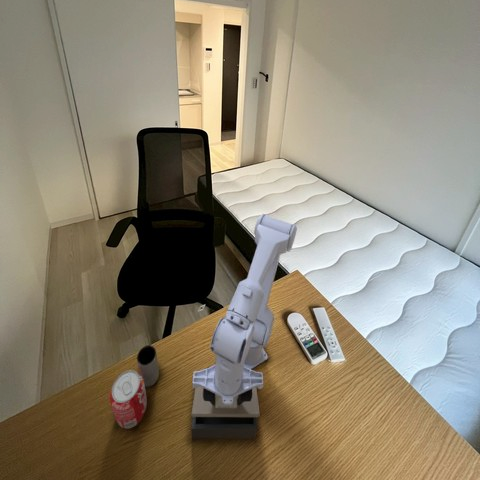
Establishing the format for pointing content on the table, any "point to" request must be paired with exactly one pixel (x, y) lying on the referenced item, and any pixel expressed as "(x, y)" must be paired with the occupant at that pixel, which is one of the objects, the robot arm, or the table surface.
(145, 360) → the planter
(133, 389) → the soda can
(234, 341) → the robot arm
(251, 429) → the dark grey open box
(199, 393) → the lid
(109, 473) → the table surface
